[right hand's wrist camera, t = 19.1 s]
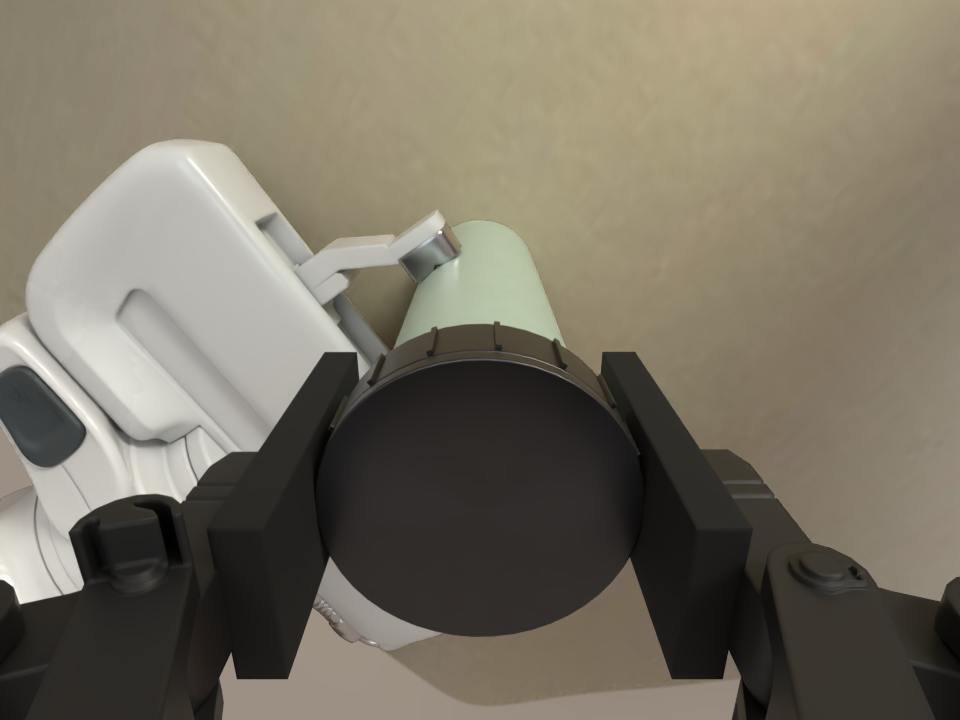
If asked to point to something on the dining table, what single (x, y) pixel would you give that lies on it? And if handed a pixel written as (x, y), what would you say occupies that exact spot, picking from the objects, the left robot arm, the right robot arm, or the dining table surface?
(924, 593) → the dining table surface
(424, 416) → the lid
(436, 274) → the jar
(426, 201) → the dining table surface
